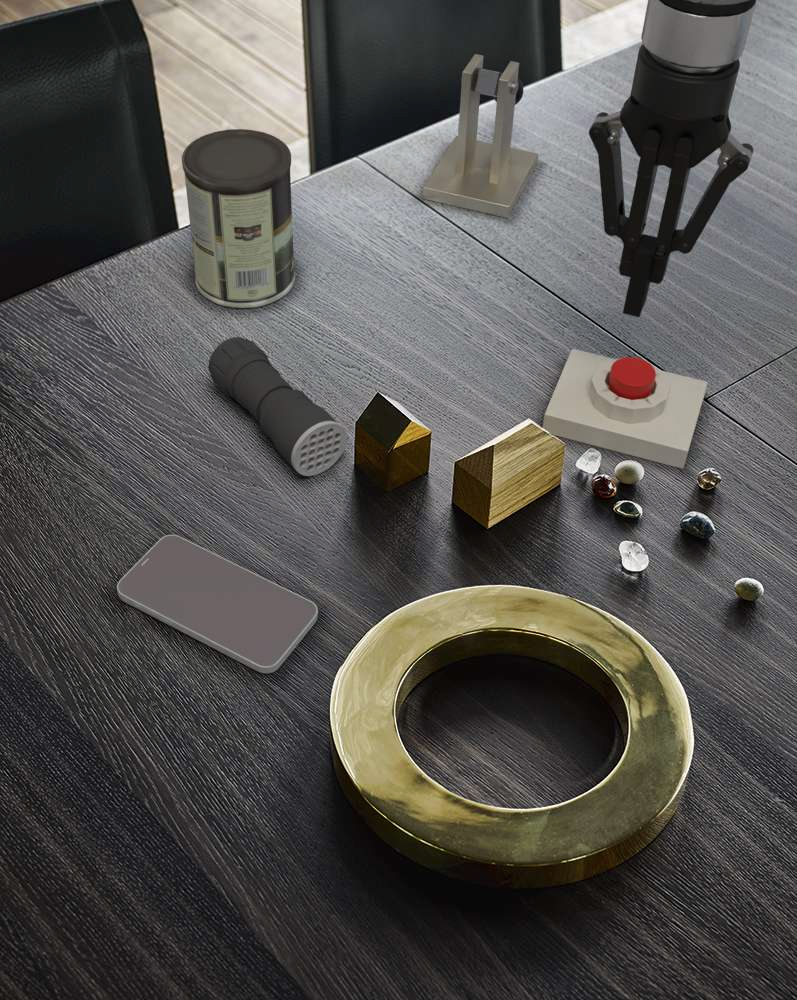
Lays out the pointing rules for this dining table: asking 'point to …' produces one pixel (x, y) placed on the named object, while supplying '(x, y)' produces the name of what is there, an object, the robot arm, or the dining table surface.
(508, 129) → the stand
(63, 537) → the dining table surface
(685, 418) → the stop box
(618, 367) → the stop button
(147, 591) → the smartphone
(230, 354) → the flashlight
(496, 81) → the lever
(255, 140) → the coffee can
